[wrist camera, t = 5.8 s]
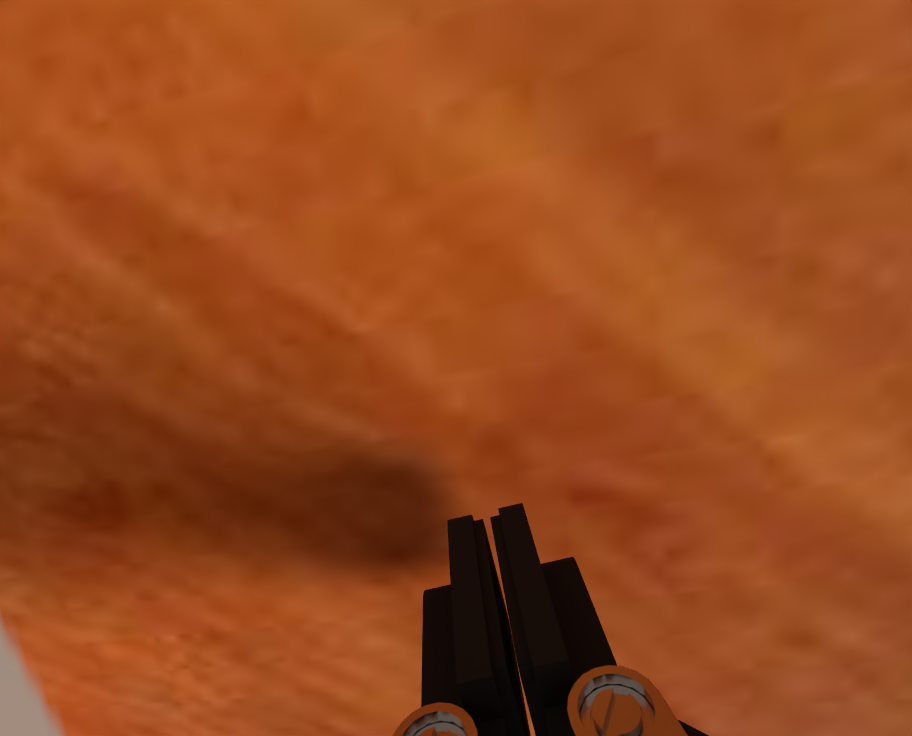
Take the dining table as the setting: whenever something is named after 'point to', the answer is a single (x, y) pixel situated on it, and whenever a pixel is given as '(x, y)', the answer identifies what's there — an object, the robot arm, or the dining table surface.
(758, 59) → the dining table surface
